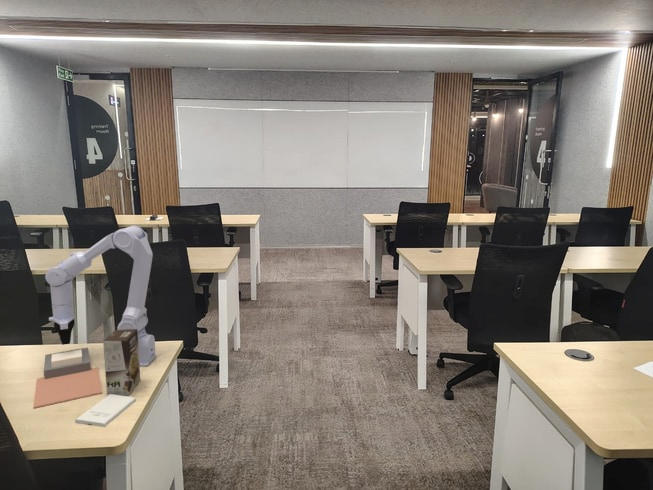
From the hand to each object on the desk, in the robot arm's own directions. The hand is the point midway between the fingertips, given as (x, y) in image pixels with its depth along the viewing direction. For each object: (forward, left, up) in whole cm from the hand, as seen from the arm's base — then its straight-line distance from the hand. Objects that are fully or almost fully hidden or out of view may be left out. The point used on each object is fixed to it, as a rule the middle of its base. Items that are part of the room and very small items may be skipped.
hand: (66, 343), depth 140 cm
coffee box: (-26, +17, -6) cm, 31 cm away
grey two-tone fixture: (-3, +4, -6) cm, 8 cm away
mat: (-10, +16, -6) cm, 20 cm away
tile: (-4, +6, -3) cm, 8 cm away
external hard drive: (-27, +29, -7) cm, 40 cm away
